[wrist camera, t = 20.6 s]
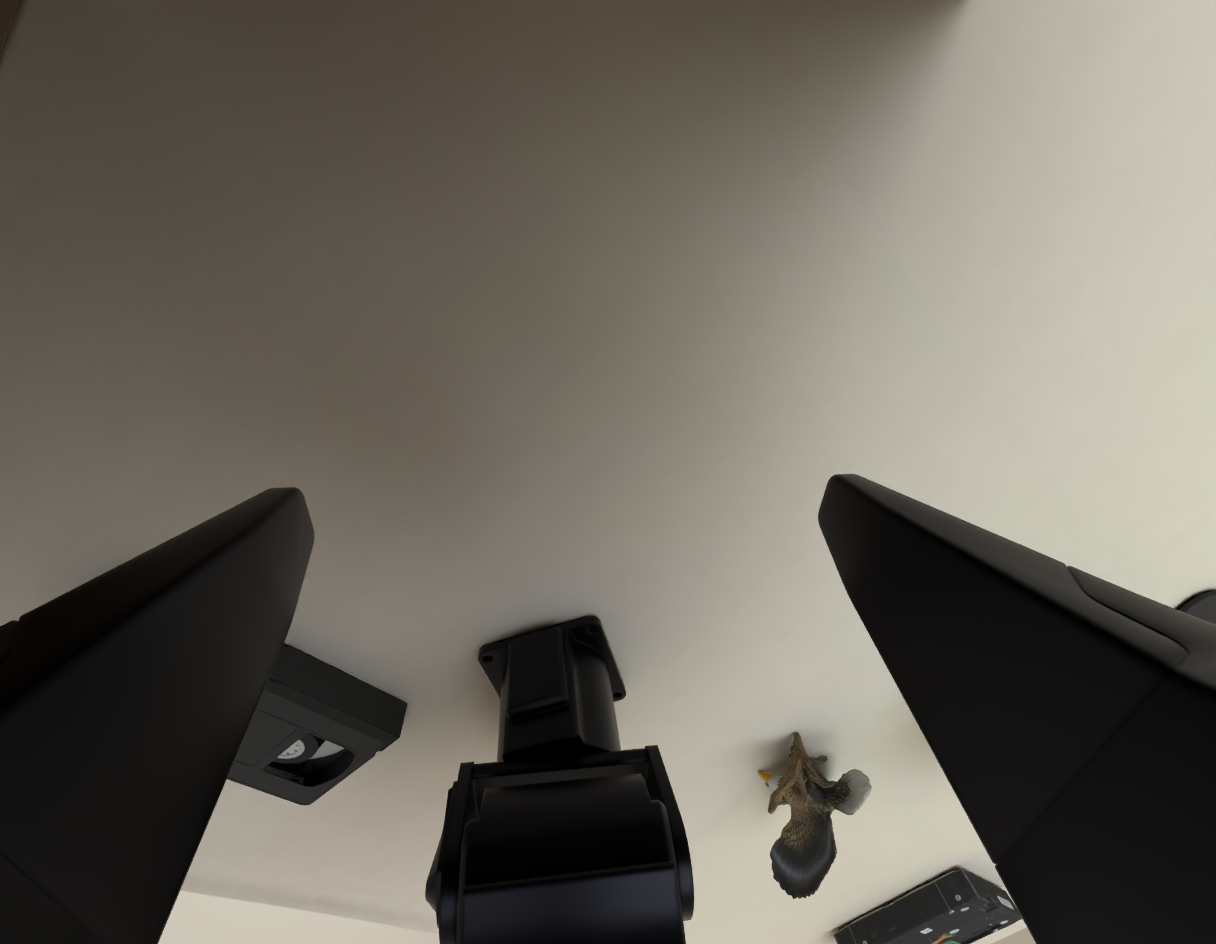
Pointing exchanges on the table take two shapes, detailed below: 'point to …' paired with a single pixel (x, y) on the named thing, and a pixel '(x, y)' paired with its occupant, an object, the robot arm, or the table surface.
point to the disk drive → (936, 914)
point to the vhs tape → (313, 729)
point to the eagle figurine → (809, 819)
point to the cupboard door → (6, 17)
